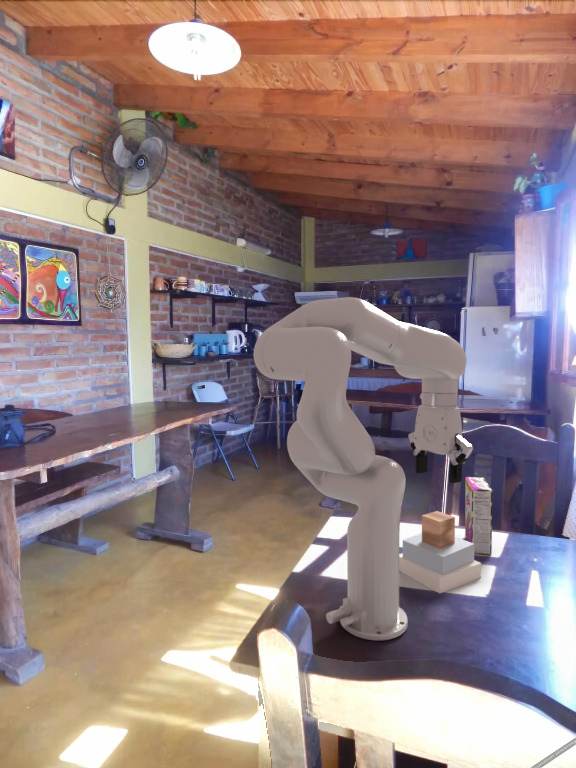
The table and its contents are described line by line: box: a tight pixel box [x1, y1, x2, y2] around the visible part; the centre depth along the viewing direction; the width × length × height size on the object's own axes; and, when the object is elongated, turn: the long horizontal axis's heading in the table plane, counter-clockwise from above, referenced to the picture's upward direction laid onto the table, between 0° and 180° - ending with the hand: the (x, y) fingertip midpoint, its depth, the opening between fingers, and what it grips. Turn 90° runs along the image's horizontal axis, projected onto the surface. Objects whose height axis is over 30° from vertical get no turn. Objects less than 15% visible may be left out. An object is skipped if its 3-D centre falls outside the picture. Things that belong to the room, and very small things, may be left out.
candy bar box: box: [464, 476, 493, 556], centre depth 124 cm, size 11×5×16 cm, turn 168°
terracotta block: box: [421, 510, 456, 549], centre depth 109 cm, size 5×5×6 cm
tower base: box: [399, 552, 482, 594], centre depth 110 cm, size 13×13×4 cm
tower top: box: [402, 532, 475, 575], centre depth 110 cm, size 11×11×4 cm
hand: (437, 477), depth 108 cm, fingers open, 9 cm apart
